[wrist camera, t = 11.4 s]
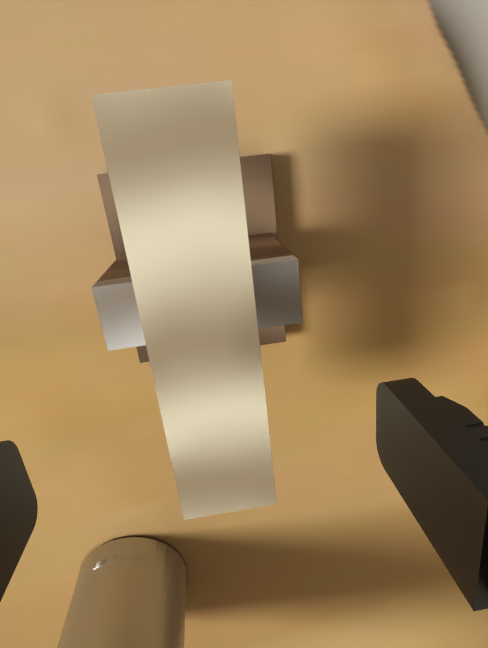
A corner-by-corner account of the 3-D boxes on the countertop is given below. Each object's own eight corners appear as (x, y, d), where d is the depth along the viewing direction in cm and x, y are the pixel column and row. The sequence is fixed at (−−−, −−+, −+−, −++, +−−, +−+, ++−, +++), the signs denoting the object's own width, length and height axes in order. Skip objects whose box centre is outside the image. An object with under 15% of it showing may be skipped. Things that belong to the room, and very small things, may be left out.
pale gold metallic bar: (116, 112, 15) (91, 94, 12) (223, 100, 16) (231, 79, 12) (186, 457, 21) (184, 519, 17) (263, 445, 21) (276, 504, 18)
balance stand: (281, 333, 30) (317, 403, 21) (142, 353, 29) (119, 434, 20) (266, 154, 25) (303, 147, 16) (102, 174, 25) (49, 178, 16)
